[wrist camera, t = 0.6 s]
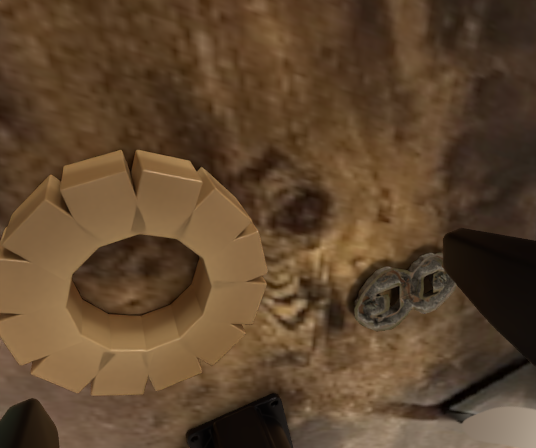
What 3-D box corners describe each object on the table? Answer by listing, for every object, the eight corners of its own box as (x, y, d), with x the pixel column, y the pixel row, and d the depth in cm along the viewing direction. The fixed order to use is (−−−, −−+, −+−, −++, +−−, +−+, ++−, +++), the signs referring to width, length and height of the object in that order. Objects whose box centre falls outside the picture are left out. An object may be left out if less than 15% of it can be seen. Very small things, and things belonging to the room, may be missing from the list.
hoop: (265, 309, 26) (283, 340, 24) (66, 387, 23) (63, 430, 21) (220, 120, 20) (238, 137, 18) (-54, 199, 17) (-76, 230, 15)
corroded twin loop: (449, 293, 31) (460, 301, 30) (350, 334, 29) (358, 344, 28) (453, 233, 28) (465, 241, 28) (344, 275, 27) (353, 284, 26)
